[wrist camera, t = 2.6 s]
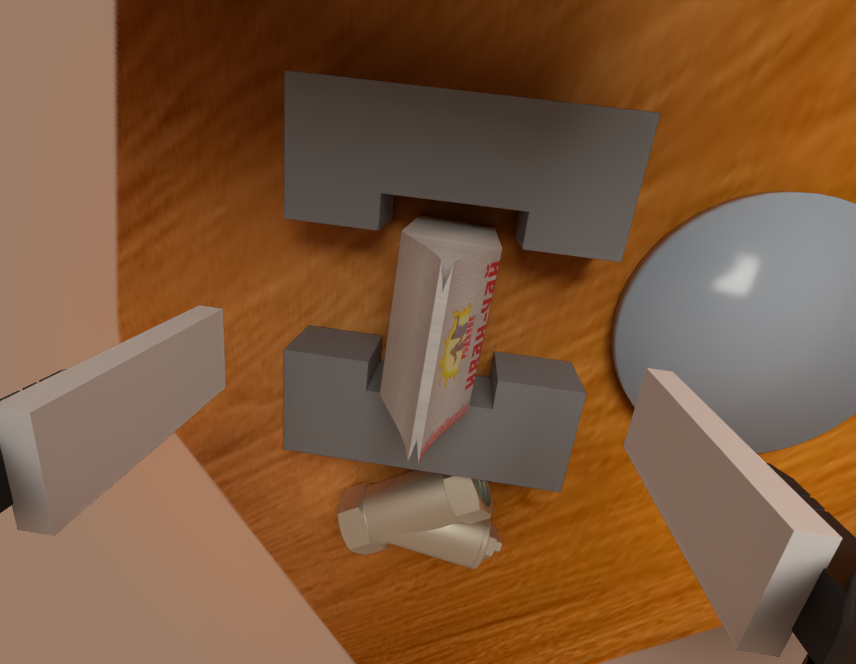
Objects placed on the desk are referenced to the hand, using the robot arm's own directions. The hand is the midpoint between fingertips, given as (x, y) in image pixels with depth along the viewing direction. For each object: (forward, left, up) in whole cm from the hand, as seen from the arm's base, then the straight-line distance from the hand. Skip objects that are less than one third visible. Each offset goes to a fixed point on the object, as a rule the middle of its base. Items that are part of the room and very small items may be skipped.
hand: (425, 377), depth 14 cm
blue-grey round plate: (0, +15, -10) cm, 18 cm away
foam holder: (0, 0, -10) cm, 10 cm away
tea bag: (0, 0, -10) cm, 10 cm away
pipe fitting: (+13, +1, -10) cm, 17 cm away
